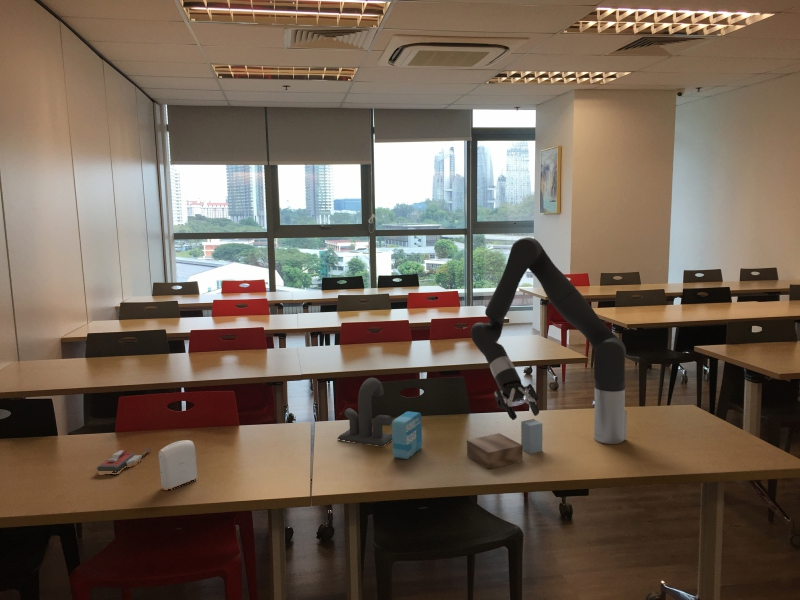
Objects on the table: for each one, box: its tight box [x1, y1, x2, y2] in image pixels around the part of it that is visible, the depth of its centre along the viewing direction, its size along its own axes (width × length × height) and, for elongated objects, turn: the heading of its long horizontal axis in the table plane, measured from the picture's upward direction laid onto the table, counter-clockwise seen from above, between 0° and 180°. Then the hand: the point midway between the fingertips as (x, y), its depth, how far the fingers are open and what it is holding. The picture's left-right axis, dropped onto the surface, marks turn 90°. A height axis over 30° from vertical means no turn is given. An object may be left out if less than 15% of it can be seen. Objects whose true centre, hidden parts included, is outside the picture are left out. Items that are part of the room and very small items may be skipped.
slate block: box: [520, 418, 543, 455], centre depth 194 cm, size 5×5×9 cm
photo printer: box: [158, 439, 198, 488], centre depth 176 cm, size 10×4×12 cm, turn 140°
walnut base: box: [466, 432, 524, 470], centre depth 188 cm, size 12×12×5 cm
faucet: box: [337, 377, 393, 447], centre depth 210 cm, size 18×16×20 cm
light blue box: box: [391, 411, 423, 460], centre depth 194 cm, size 12×4×12 cm, turn 153°
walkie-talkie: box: [96, 447, 150, 473], centre depth 193 cm, size 9×4×20 cm
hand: (526, 416), depth 196 cm, fingers open, 8 cm apart
